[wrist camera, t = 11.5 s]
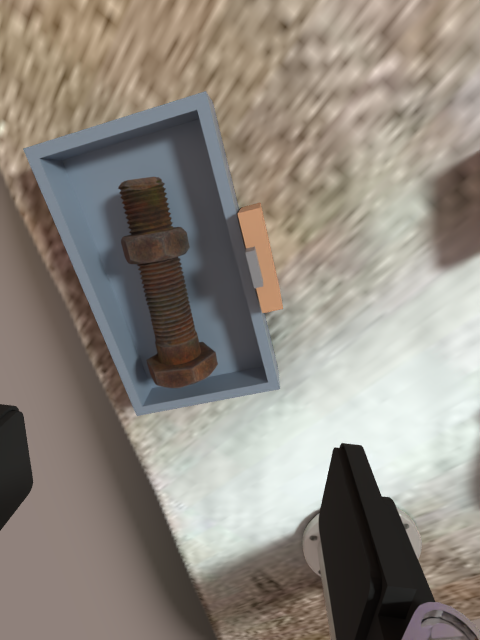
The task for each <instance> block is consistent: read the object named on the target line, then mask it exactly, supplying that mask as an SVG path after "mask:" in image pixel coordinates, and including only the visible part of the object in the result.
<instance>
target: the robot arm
mask: <svg viewBox="0 0 480 640" xmlns="http://www.w3.org/2000/svg"><path fill="white" fill-rule="evenodd" d="M32 485H33V478H32V470H31V464H30V457H29V450H28V444H27V437H26V430H25V423H24V417H23V414H22V412H19V409H18V408H17V407H16V406H10V405H2V404H0V530H1V529H2V528H3V526H4V525H5V524H6V523H7V521H8V520H9V519H10V517H11V516H12V515H13V514H14V512H15V511H16V510H17V508H18V507H19V506H20V504H21V503H22V502H23V501H24V499H25V498H26V497H27V496H28V494H29V493H30V491H31V488H32ZM302 544H303V553H304V557H305V560H306V562H307V564H308V565H309V567H310V568H311V569H312V570H313V571H314V572H315V573H316V574H317V575H319V576H320V577H321V578H322V585H323V591H324V598H325V604H326V611H327V617H328V624H329V631H330V637H331V640H480V631H479V629H478V628H477V627H476V626H475V624H474V623H473V622H471V621H470V620H469V619H468V618H467V617H466V616H465V615H463V614H462V613H460V612H459V611H457V610H456V609H454V608H452V607H451V606H448V605H445V604H442V603H439V602H435V600H434V597H433V595H432V593H431V590H430V588H429V585H428V583H427V581H426V578H425V576H424V573H423V571H422V568H421V566H420V564H419V561H418V559H419V556H420V553H421V550H422V541H421V537H420V533H419V531H418V529H417V527H416V525H415V523H414V522H413V520H412V519H411V518H410V516H408V515H407V514H406V513H405V512H404V511H402V510H400V509H399V508H397V507H396V505H395V503H394V502H393V500H392V499H391V498H390V497H382V496H381V494H380V491H379V488H378V486H377V483H376V481H375V478H374V475H373V473H372V470H371V467H370V465H369V462H368V459H367V457H366V454H365V451H364V449H363V447H362V446H361V445H353V444H345V443H342V444H341V445H340V448H334V449H333V453H332V458H331V462H330V467H329V471H328V476H327V481H326V485H325V490H324V495H323V499H322V504H321V508H320V513H319V514H318V515H316V516H315V517H314V518H313V519H312V520H311V521H310V523H309V524H308V525H307V527H306V529H305V531H304V534H303V540H302Z"/></svg>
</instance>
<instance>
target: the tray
mask: <svg viewBox="0 0 480 640" xmlns="http://www.w3.org/2000/svg"><path fill="white" fill-rule="evenodd" d="M23 150H24V152H25V154H26V157H27V159H28V161H29V164H30V166H31V168H32V171H33V173H34V175H35V178H36V180H37V182H38V185H39V187H40V190H41V192H42V194H43V197H44V199H45V201H46V204H47V206H48V208H49V211H50V213H51V215H52V218H53V220H54V222H55V225H56V227H57V229H58V232H59V234H60V236H61V239H62V241H63V244H64V246H65V248H66V251H67V253H68V255H69V258H70V260H71V262H72V265H73V267H74V269H75V272H76V274H77V276H78V279H79V281H80V283H81V286H82V288H83V291H84V293H85V295H86V298H87V300H88V302H89V305H90V307H91V309H92V312H93V314H94V316H95V319H96V321H97V323H98V326H99V328H100V330H101V333H102V335H103V337H104V340H105V342H106V345H107V347H108V349H109V352H110V354H111V356H112V359H113V361H114V363H115V366H116V368H117V370H118V373H119V375H120V377H121V380H122V382H123V384H124V387H125V389H126V392H127V394H128V396H129V399H130V401H131V403H132V406H133V408H134V410H135V413H136V415H137V416H139V415H144V414H149V413H155V412H160V411H165V410H171V409H176V408H181V407H187V406H192V405H197V404H203V403H208V402H213V401H219V400H224V399H229V398H235V397H240V396H245V395H251V394H256V393H261V392H267V391H272V390H277V389H280V384H279V373H278V366H277V362H276V358H275V354H274V349H273V345H272V341H271V337H270V333H269V329H268V325H267V321H266V317H265V313H262V310H261V306H260V302H259V298H258V294H257V290H256V288H254V285H253V281H252V277H251V273H250V269H249V265H248V261H247V257H246V253H245V252H246V246H245V242H244V238H243V234H242V230H241V226H240V222H239V218H238V214H237V213H238V212H239V207H238V203H237V199H236V195H235V190H234V186H233V182H232V178H231V174H230V170H229V166H228V162H227V158H226V154H225V150H224V146H223V142H222V137H221V133H220V129H219V125H218V121H217V117H216V113H215V109H214V105H213V102H212V100H211V99H210V97H209V96H208V94H207V92H206V91H205V92H202V93H199V94H196V95H192V96H189V97H186V98H183V99H180V100H176V101H173V102H170V103H167V104H164V105H161V106H157V107H154V108H151V109H148V110H145V111H142V112H138V113H135V114H132V115H129V116H126V117H122V118H119V119H116V120H113V121H110V122H107V123H103V124H100V125H97V126H94V127H91V128H88V129H84V130H81V131H78V132H75V133H72V134H68V135H65V136H62V137H59V138H56V139H53V140H49V141H46V142H43V143H40V144H37V145H34V146H30V147H27V148H24V149H23ZM147 177H159V178H160V179H162V182H163V183H165V185H164V186H163V187H164V188H166V189H165V191H164V192H165V193H167V194H166V196H165V197H166V198H168V199H167V201H166V202H167V203H169V205H168V206H167V207H168V208H170V209H169V211H168V212H170V213H171V214H170V216H169V217H171V218H172V219H171V220H170V221H171V222H173V223H172V225H171V226H173V227H182V228H183V229H184V230H185V231H186V232H187V236H188V241H189V246H190V248H189V249H188V251H187V253H186V254H184V255H181V256H179V257H178V258H180V259H181V260H180V261H179V262H180V263H182V264H181V266H180V267H182V268H183V269H182V270H181V271H183V272H184V273H183V276H184V280H185V283H184V284H186V287H185V288H186V289H187V291H186V292H187V293H188V295H187V296H188V297H189V299H188V300H189V302H190V303H189V305H190V306H191V307H190V309H191V313H192V317H193V321H194V325H195V331H196V332H197V335H198V339H199V342H204V343H205V344H206V345H207V346H209V347H210V348H211V349H212V350H214V351H215V352H216V357H217V362H218V365H217V367H216V368H215V370H214V371H213V372H212V373H211V375H210V376H208V377H207V378H206V379H204V380H202V381H199V382H197V383H194V384H191V385H188V386H184V387H181V388H166V387H161V386H158V385H156V384H155V383H154V381H153V379H152V377H151V375H150V372H149V369H148V365H147V361H146V360H147V359H149V358H150V357H152V356H154V355H156V354H157V348H156V344H155V341H156V339H155V334H154V330H153V326H152V322H151V319H152V318H151V317H150V315H151V314H150V313H149V311H150V310H149V309H148V307H149V306H148V305H147V301H146V298H147V297H145V294H146V293H144V290H145V289H144V288H143V286H144V284H142V281H143V280H142V279H140V278H141V277H142V275H140V272H141V271H140V270H138V269H139V268H140V267H139V266H137V264H129V263H128V262H127V260H126V259H125V256H124V252H123V249H122V245H121V239H122V237H124V236H127V235H131V233H129V232H130V231H131V229H129V228H128V227H129V226H130V225H129V224H128V223H127V222H128V221H129V220H128V219H126V217H127V216H128V215H126V214H125V213H124V212H125V211H126V210H125V209H124V208H123V207H124V206H125V205H124V204H122V202H123V201H124V200H123V199H121V198H120V197H121V196H122V195H121V194H120V193H119V192H120V191H121V190H120V189H118V187H119V186H120V184H121V183H122V182H124V181H126V180H132V179H139V178H147Z"/></svg>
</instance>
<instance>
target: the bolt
mask: <svg viewBox="0 0 480 640" xmlns="http://www.w3.org/2000/svg"><path fill="white" fill-rule="evenodd" d="M164 185H165V183H163V182H162V179H160V178H159V177H147V178H139V179H132V180H126V181H124V182H122V183H121V184H120V186H119V187H118V189H120V190H121V191H120V192H119V193H120V194H121V195H122V196H121V197H120V198H121V199H123V200H124V201H123V202H122V204H124V205H125V206H124V207H123V208H124V209H125V210H126V211H125V212H124V213H125V214H126V215H128V216H127V217H126V219H128V220H129V221H128V222H127V223H128V224H129V225H130V226H129V227H128V228H129V229H131V231H130V232H129V233H131V235H127V236H124V237H122V239H121V245H122V249H123V252H124V256H125V259H126V260H127V262H128V263H129V264H137V266H139V267H140V268H139V269H138V270H140V271H141V272H140V275H142V277H141V278H140V279H142V280H143V281H142V284H144V286H143V288H144V289H145V290H144V293H146V294H145V297H147V298H146V301H147V305H148V306H149V307H148V309H149V310H150V311H149V313H150V314H151V315H150V317H151V318H152V319H151V322H152V326H153V330H154V334H155V339H156V341H155V344H156V348H157V354H156V355H154V356H152V357H150V358H149V359H147V360H146V361H147V365H148V369H149V372H150V375H151V377H152V379H153V381H154V383H155V384H156V385H158V386H161V387H166V388H181V387H184V386H188V385H191V384H194V383H197V382H199V381H202V380H204V379H206V378H207V377H208V376H210V375H211V373H212V372H213V371H214V370H215V368H216V367H217V365H218V362H217V357H216V352H215V351H214V350H212V349H211V348H210V347H209V346H207V345H206V344H205V343H204V342H199V339H198V335H197V332H196V331H195V325H194V321H193V317H192V313H191V309H190V307H191V306H190V305H189V303H190V302H189V300H188V299H189V297H188V296H187V295H188V293H187V292H186V291H187V289H186V288H185V287H186V284H184V283H185V280H184V276H183V273H184V272H183V271H181V270H182V269H183V268H182V267H180V266H181V264H182V263H180V262H179V261H180V260H181V259H180V258H178V257H179V256H181V255H184V254H186V253H187V251H188V249H189V248H190V246H189V241H188V236H187V232H186V231H185V230H184V229H183V228H182V227H173V226H171V225H172V223H173V222H171V221H170V220H171V219H172V218H171V217H169V216H170V214H171V213H170V212H168V211H169V209H170V208H168V207H167V206H168V205H169V203H167V202H166V201H167V199H168V198H166V197H165V196H166V194H167V193H165V192H164V191H165V189H166V188H164V187H163V186H164Z"/></svg>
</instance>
